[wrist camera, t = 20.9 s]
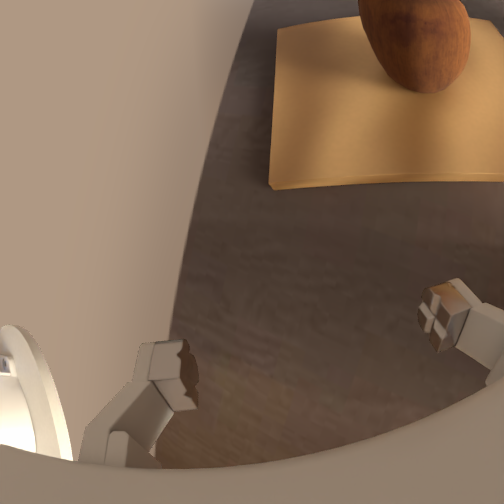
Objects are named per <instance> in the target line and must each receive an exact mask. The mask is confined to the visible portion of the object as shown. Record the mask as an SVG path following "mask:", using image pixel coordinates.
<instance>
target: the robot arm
mask: <svg viewBox="0 0 504 504" xmlns="http://www.w3.org/2000/svg"><path fill="white" fill-rule="evenodd" d="M421 298H422V300H423V302H422V304H421V305H420V306H419V309H418V314H417V315H418V322H419V325H420V327H421V329H422V330H423V332H425V333H427V334H430V336H429V341H430V342H431V344H432V345H433V347H434V348H435V350H436V351H437V353H438V352H441V351H444V350H446V349H449V348H452V347H454V346H456V348H457V349H459V350H460V351H462V352H464V353H465V354H467V355H468V356H470V357H471V358H473V359H474V360H476V361H477V362H479V363H480V364H482V365H484V366H485V367H487V368H488V369H490V370H491V372H490V373H489V375H488V377H487V378H486V381H485V383H486V385H487V387H485V388H483V389H481V390H480V391H478V392H476V393H474V394H472V395H470V396H468V397H467V398H465V399H463V400H461V401H459V402H457V403H455V404H453V405H451V406H449V407H447V408H445V409H442V410H440V411H438V412H436V413H434V414H431V415H429V416H427V417H425V418H422V419H420V420H417V421H415V422H413V423H410V424H408V425H405V426H402V427H400V428H397V429H395V430H392V431H389V432H386V433H383V434H380V435H378V436H375V437H371V438H368V439H365V440H362V441H359V442H355V443H352V444H348V445H345V446H341V447H338V448H334V449H330V450H326V451H322V452H317V453H313V454H309V455H304V456H299V457H294V458H289V459H283V460H277V461H271V462H264V463H257V464H249V465H240V466H230V467H218V468H201V469H161V466H162V464H161V463H160V462H159V461H158V460H157V459H155V458H154V457H153V456H152V455H151V454H150V453H148V452H149V451H150V449H151V448H152V446H153V445H154V443H155V442H156V440H157V439H158V437H159V435H160V434H161V432H162V431H163V429H164V428H165V426H166V425H167V423H168V421H169V420H170V418H171V417H172V415H173V414H174V412H177V411H187V410H196V409H198V391H197V389H196V387H195V386H196V385H197V383H198V382H199V373H198V366H197V363H196V359H195V357H194V355H192V354H191V353H189V351H190V346H189V344H188V342H187V340H186V339H179V340H169V341H158V342H150V343H142V344H141V345H140V347H139V351H138V356H137V360H136V365H135V369H134V374H133V379H132V382H128V383H127V384H126V385H125V386H124V387H123V388H122V389H121V390H120V391H119V392H118V393H117V394H116V395H115V397H114V398H113V399H112V400H111V401H110V402H109V403H108V404H107V405H106V406H105V407H104V408H103V409H102V411H101V412H100V413H99V414H98V415H97V416H96V417H95V418H94V419H93V420H92V421H91V422H90V423H89V424H88V426H87V427H86V428H85V431H84V436H83V440H82V445H81V449H80V454H79V459H78V461H72V460H66V459H61V458H56V457H51V456H47V455H42V454H38V453H36V446H35V437H34V431H33V425H32V421H31V416H30V412H29V409H28V405H27V402H26V399H25V396H24V393H23V390H22V388H21V385H20V382H19V380H18V376H17V371H16V366H15V362H14V358H13V357H12V356H8V355H3V354H0V504H504V310H502V309H500V308H497V307H495V306H492V305H490V304H488V303H482V302H481V301H480V300H479V299H478V298H477V297H476V296H475V294H474V293H473V292H472V291H471V290H470V289H469V288H468V287H467V286H466V285H465V284H464V283H463V282H462V281H461V280H460V279H458V278H455V279H452V280H449V281H447V282H443V283H440V284H437V285H434V286H430V287H427V288H425V289H424V290H423V292H422V296H421Z"/></svg>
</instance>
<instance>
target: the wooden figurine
mask: <svg viewBox="0 0 504 504" xmlns="http://www.w3.org/2000/svg"><path fill="white" fill-rule="evenodd" d="M358 6H359V14H360V18H361V22H362V26H363V29H364V31H365V33H366V35H367V38H368V40H369V42H370V45H371V47H372V49H373V51H374V53H375V55H376V57H377V59H378V61H379V62H380V64H381V65H382V67H383V68H384V70H385V71H386V73H387V75H388V76H389V77H391V78H392V79H393V80H394V81H395V82H396V83H398V84H400V85H402V86H403V87H405V88H407V89H409V90H412V91H416V92H419V93H436V92H439V91H442V90H444V89H446V88H447V87H448V86H449V85H450V84H452V83H453V82H454V81H455V80H456V79H457V78H458V76H459V75H460V74H461V73H462V71H463V70H464V68H465V65H466V63H467V60H468V58H469V51H470V44H471V29H470V21H469V17H468V15H467V12H466V10H465V7H464V5H463V4H462V3H461V2H460V0H358Z"/></svg>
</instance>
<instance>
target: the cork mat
mask: <svg viewBox="0 0 504 504" xmlns="http://www.w3.org/2000/svg"><path fill="white" fill-rule="evenodd" d="M469 21H470V29H471V44H470V51H469V58H468V60H467V63H466V65H465V68H464V70H463V71H462V73H461V74H460V75H459V76H458V78H457V79H456V80H455V81H454V82H453V83H452V84H450V85H449V86H448V87H447V88H446V89H444V90H442V91H439V92H436V93H419V92H416V91H412V90H409V89H407V88H405V87H403V86H402V85H400V84H398V83H396V82H395V81H394V80H393V79H392V78H391V77H389V76H388V75H387V73H386V71H385V70H384V68H383V67H382V65H381V64H380V62H379V61H378V59H377V57H376V55H375V53H374V51H373V49H372V47H371V45H370V42H369V40H368V38H367V35H366V33H365V31H364V29H363V26H362V22H361V18H360V16H357V17H347V18H339V19H331V20H324V21H317V22H311V23H306V24H300V25H295V26H290V27H285V28H281V29H277V48H276V67H275V85H274V102H273V119H272V136H271V151H270V167H269V182H268V183H269V185H270V186H271V187H272V188H273V190H283V189H294V188H306V187H319V186H333V185H349V184H367V183H389V182H423V181H489V182H504V39H503V37H502V36H501V34H500V33H499V32H498V30H497V29H496V28H495V26H494V25H493V24H492V22H491V21H488V20H482V19H474V18H469Z"/></svg>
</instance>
